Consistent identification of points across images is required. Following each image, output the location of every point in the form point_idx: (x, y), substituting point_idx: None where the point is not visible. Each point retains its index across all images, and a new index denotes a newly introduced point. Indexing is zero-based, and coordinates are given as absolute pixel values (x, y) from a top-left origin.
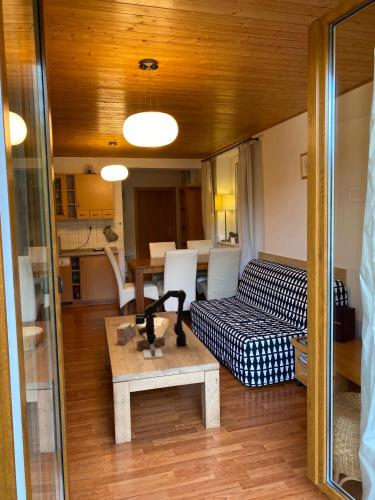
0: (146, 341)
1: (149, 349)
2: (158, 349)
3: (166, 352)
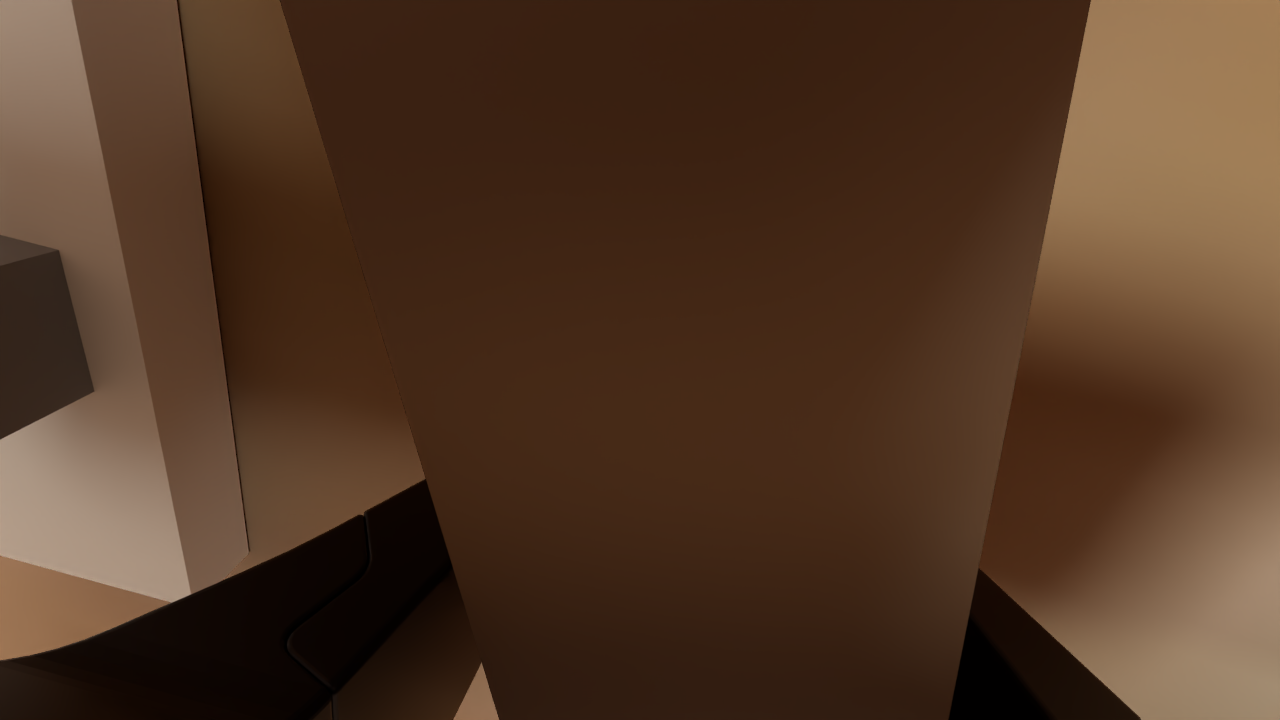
0: (408, 374)
1: (98, 231)
2: (91, 527)
3: (91, 607)
